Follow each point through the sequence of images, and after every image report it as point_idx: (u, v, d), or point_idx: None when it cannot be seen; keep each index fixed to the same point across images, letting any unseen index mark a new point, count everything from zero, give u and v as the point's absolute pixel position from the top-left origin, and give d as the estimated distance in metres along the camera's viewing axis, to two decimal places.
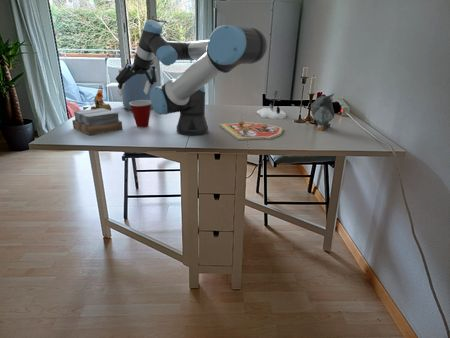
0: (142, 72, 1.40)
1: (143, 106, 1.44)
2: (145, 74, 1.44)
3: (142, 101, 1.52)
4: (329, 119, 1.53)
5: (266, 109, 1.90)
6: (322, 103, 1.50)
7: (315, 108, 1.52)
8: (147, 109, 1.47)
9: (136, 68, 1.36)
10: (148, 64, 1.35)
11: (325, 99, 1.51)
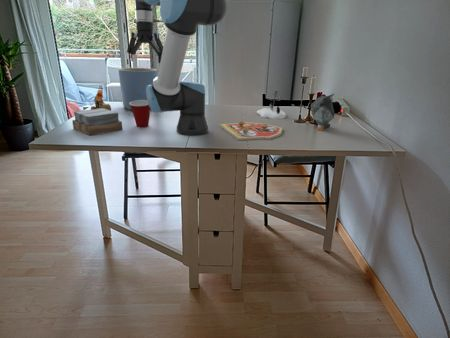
0: (145, 40, 1.43)
1: (143, 106, 1.44)
2: None
3: (142, 101, 1.52)
4: (329, 119, 1.53)
5: (266, 109, 1.90)
6: (322, 103, 1.50)
7: (315, 108, 1.52)
8: (147, 109, 1.47)
9: (138, 35, 1.43)
10: (141, 25, 1.38)
11: (325, 99, 1.51)
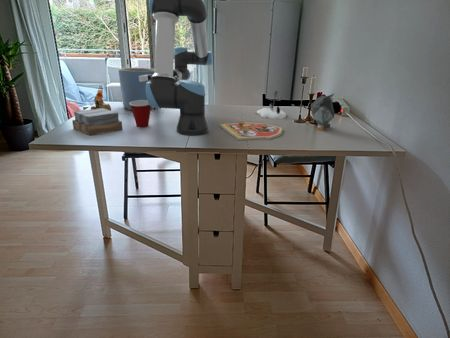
0: None
1: (143, 106, 1.44)
2: None
3: (142, 101, 1.52)
4: (329, 119, 1.53)
5: (266, 109, 1.90)
6: (322, 103, 1.50)
7: (315, 108, 1.52)
8: (147, 109, 1.47)
9: None
10: None
11: (325, 99, 1.51)
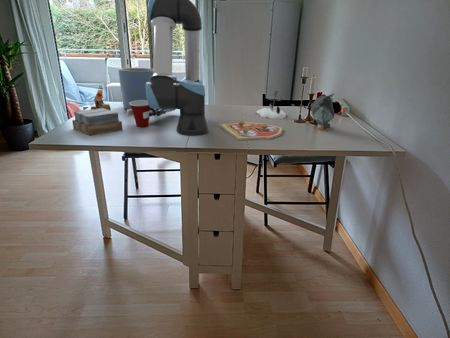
0: (153, 107, 1.58)
1: (143, 106, 1.44)
2: None
3: (142, 101, 1.52)
4: (329, 119, 1.53)
5: (266, 109, 1.90)
6: (322, 103, 1.51)
7: (315, 108, 1.53)
8: (147, 109, 1.47)
9: None
10: None
11: (325, 99, 1.51)
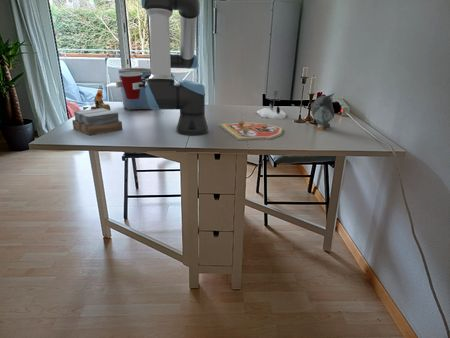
0: (145, 80, 1.52)
1: (133, 76, 1.39)
2: None
3: (133, 73, 1.47)
4: (329, 119, 1.53)
5: (266, 109, 1.90)
6: (322, 103, 1.51)
7: (315, 108, 1.53)
8: (137, 80, 1.42)
9: None
10: None
11: (325, 99, 1.51)
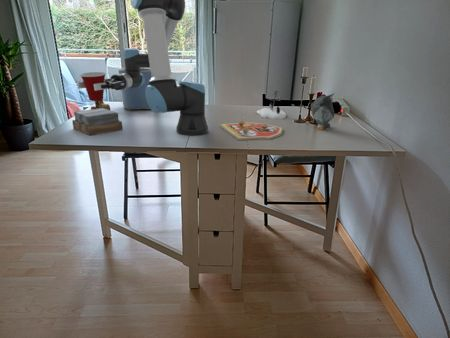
0: None
1: (94, 77, 1.32)
2: None
3: (96, 73, 1.40)
4: (329, 119, 1.53)
5: (266, 109, 1.90)
6: (322, 103, 1.51)
7: (315, 108, 1.53)
8: (99, 81, 1.34)
9: None
10: (118, 74, 1.49)
11: (325, 99, 1.51)
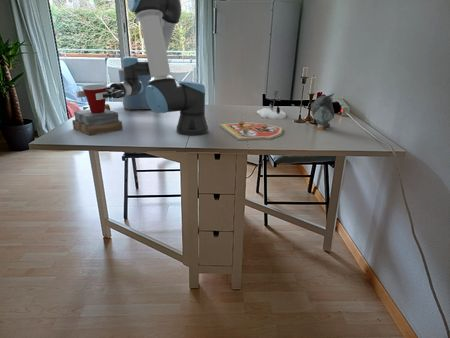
0: (110, 89, 1.46)
1: (96, 90, 1.33)
2: None
3: (98, 85, 1.41)
4: (329, 119, 1.54)
5: (266, 109, 1.90)
6: (322, 103, 1.51)
7: (315, 108, 1.53)
8: None
9: None
10: (118, 83, 1.50)
11: (325, 99, 1.51)
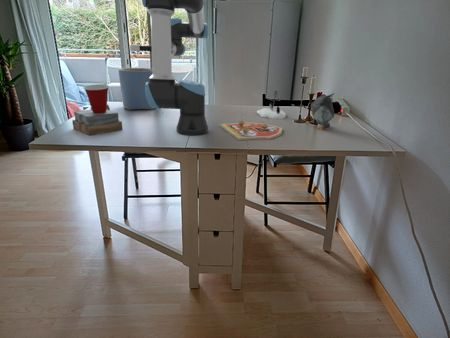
0: None
1: (98, 90, 1.33)
2: None
3: (99, 85, 1.41)
4: (329, 118, 1.54)
5: (266, 109, 1.90)
6: (322, 103, 1.51)
7: (315, 108, 1.53)
8: (103, 93, 1.36)
9: None
10: None
11: (325, 99, 1.52)
